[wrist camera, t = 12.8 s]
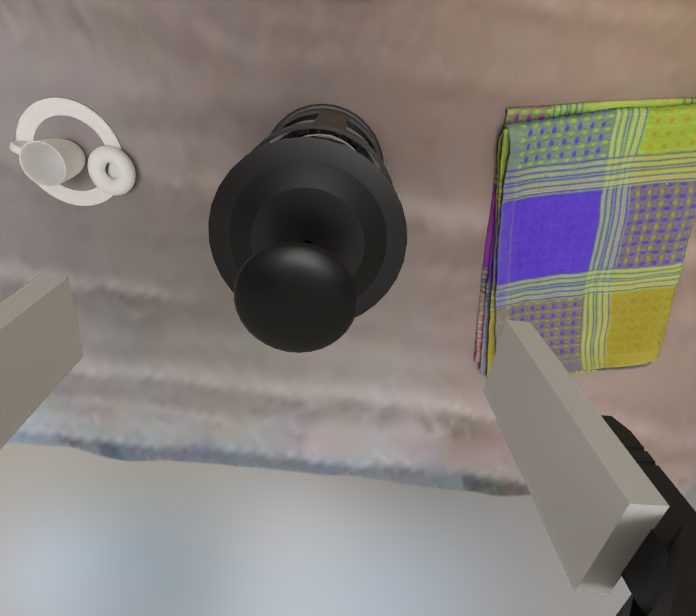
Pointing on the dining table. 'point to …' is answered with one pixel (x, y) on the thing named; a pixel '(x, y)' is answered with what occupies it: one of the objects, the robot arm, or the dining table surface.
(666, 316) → the dish towel
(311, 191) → the french press
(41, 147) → the teacup and saucer
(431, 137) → the dining table surface
